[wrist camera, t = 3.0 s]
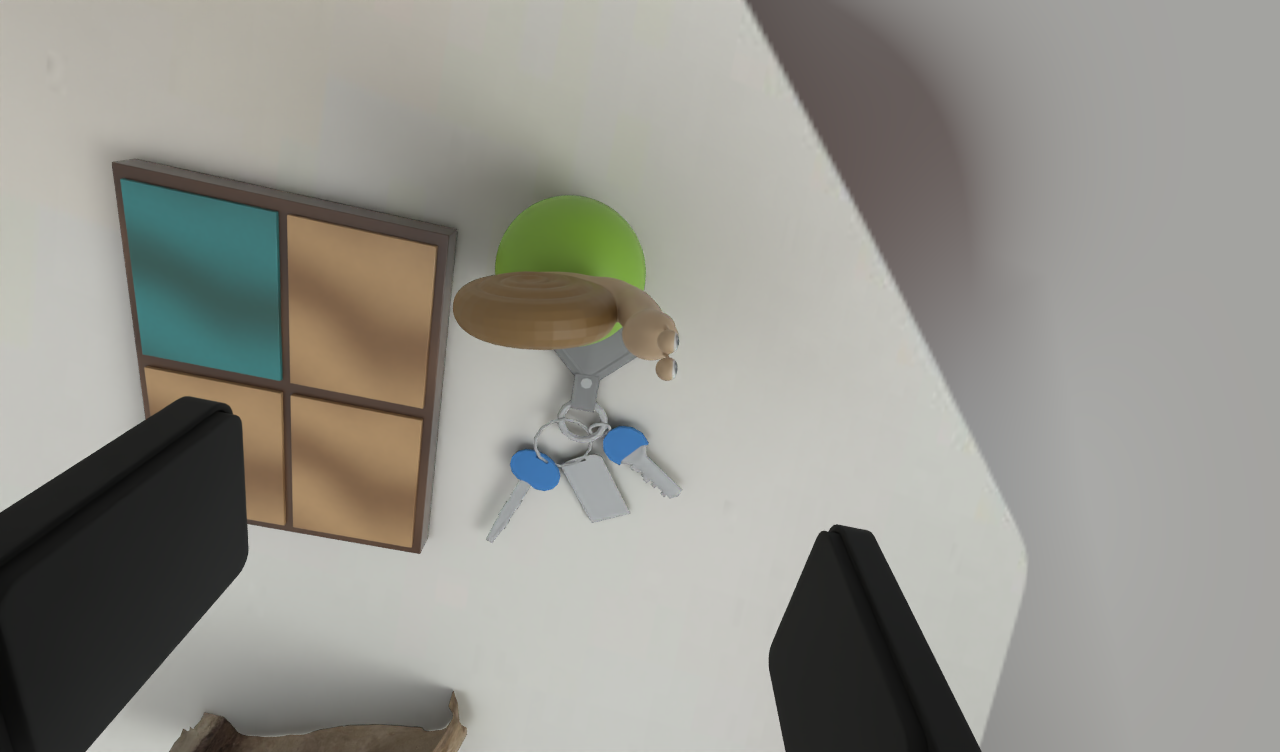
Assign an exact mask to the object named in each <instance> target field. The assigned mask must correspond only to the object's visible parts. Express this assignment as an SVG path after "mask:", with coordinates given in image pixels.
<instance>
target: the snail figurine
mask: <svg viewBox="0 0 1280 752" xmlns="http://www.w3.org/2000/svg"><path fill="white" fill-rule="evenodd" d="M645 277H646V267H645V259H644V255H643V251H642V248H641V245H640V242H639V240H638V238H637V236H636V234H635V233H634V231H633V229H632V228H631V227H630V225H629V224H628V223H627V222H626V221H625V219H624V218H623V217H622V216H620V215H619V214H618V213H617V212H616V211H614V210H613V209H612V208H610V207H608V206H607V205H605V204H603V203H601V202H599V201H596V200H594V199H591V198H587V197H582V196H574V195H564V196H556V197H551V198H548V199H545V200H542V201H539V202H537V203H535V204H533V205H532V206H530V207H528V208H527V209H526V210H524V211H523V212H522V213H521V214H519V215H518V216H517V217H516V218H515V219H514V221H513V222H512V223H511V224H510V226H509V227H508V228H507V230H506V232H505V233H504V235H503V237H502V239H501V242H500V245H499V247H498V251H497V256H496V263H495V275H491V276H487V277H483V278H479V279H476V280H473V281H471V282H469V283H468V284H466V285H464V286H463V287H462V288H461V289H460V290H459V291H458V292H457V294H456V296H455V298H454V302H453V313H454V317H455V319H456V321H457V323H458V324H459V325H460V327H461V328H462V329H463V330H465V331H466V332H467V333H468V334H470V335H472V336H474V337H476V338H478V339H480V340H482V341H485V342H488V343H492V344H495V345H500V346H505V347H511V348H519V349H533V350H553V349H566V348H574V347H581V346H587V345H591V344H594V343H597V342H600V341H602V340H604V339H606V338H608V337H610V336H611V335H613V334H614V333H616V332H617V331H618V330H620V329H621V328H622V327H623V331H622V339H623V342H624V345H625V346H626V348H627V349H628V350H629V352H631V353H632V354H633V355H635V356H636V357H638V358H641V359H644V360H658V359H661V358H662V359H661V360H659V361H658V363H657V365H656V373H657V375H658V377H659V378H661V379H662V380H665V381H669V380H672V379H674V378H675V376H676V374H677V363H676V361H675V360H674V359H672V358H669V356H668V355H669V354H670V353H673V352H675V351H676V350H677V348H678V345H679V335H678V331H677V329H676V327H675V323H674V321H673V320H672V318H671V317H670V316H668V315H667V314H665V313H663V312H662V311H661V309H660V307H659V306H658V304H657V303H656V302H655V301H654V300H653V299H652V298H651V297H650V296H649V295H648V294H647V293H645V292H644V286H645ZM664 357H666V358H664Z"/></svg>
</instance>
